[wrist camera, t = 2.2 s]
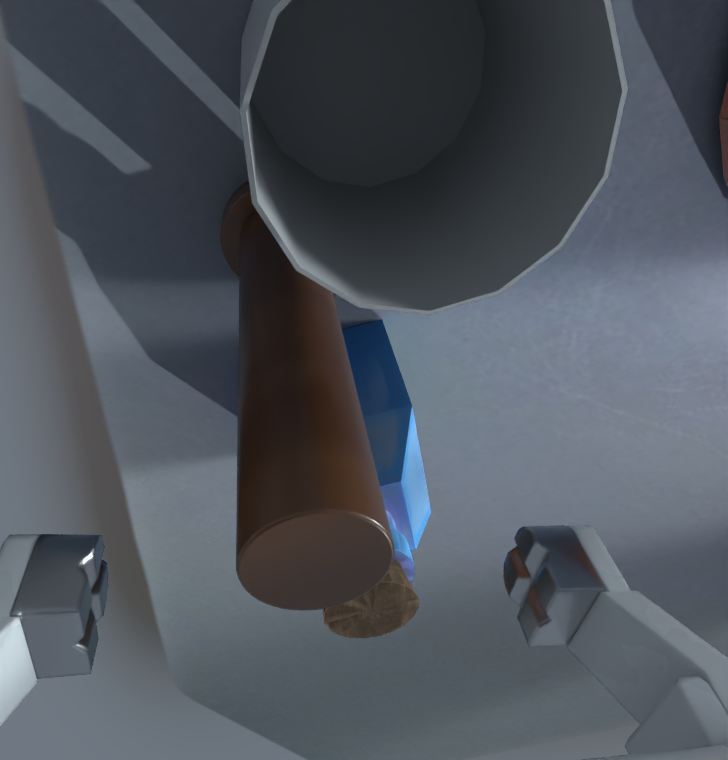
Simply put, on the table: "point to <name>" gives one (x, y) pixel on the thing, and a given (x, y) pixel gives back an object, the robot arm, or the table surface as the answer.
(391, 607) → the perfume bottle
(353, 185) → the cup
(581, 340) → the table surface
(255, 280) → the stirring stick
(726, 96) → the bowl
